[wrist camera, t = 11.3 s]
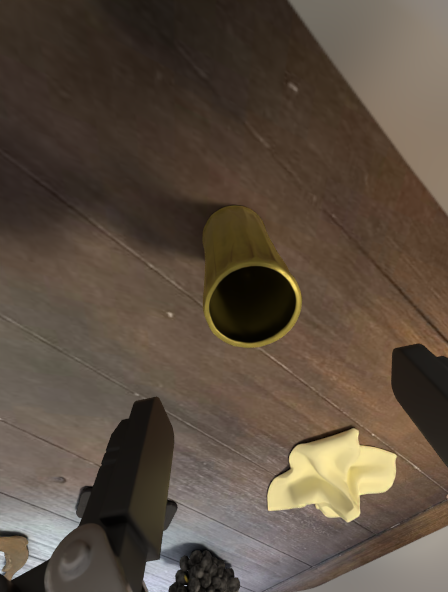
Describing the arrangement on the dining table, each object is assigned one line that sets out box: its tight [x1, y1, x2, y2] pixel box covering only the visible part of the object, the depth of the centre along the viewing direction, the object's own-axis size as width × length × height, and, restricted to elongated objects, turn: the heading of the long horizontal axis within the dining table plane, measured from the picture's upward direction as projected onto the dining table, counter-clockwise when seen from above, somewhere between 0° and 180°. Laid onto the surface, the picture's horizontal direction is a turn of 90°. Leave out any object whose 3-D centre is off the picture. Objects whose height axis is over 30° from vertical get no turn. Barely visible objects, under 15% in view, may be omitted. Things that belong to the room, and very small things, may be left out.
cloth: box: [267, 428, 397, 523], centre depth 43 cm, size 22×19×6 cm
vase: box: [203, 205, 302, 348], centre depth 22 cm, size 6×6×14 cm
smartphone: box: [76, 488, 177, 531], centre depth 46 cm, size 7×15×1 cm, turn 69°
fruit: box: [169, 550, 240, 592], centre depth 52 cm, size 9×8×15 cm
